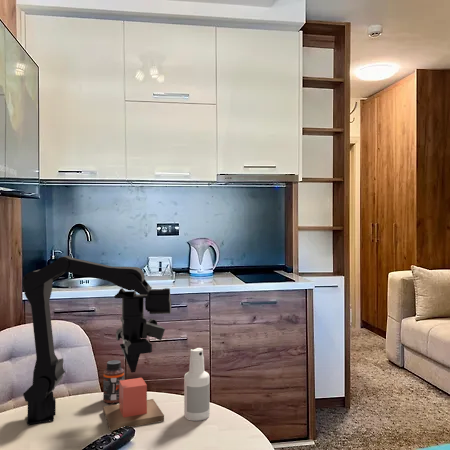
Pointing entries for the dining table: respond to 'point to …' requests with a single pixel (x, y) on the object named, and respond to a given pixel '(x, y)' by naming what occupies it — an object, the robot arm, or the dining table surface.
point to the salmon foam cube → (132, 397)
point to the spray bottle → (196, 388)
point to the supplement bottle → (112, 381)
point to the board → (118, 421)
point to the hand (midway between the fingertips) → (133, 372)
